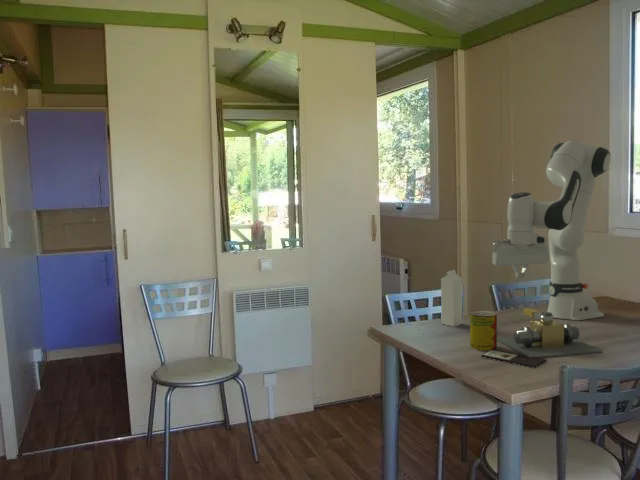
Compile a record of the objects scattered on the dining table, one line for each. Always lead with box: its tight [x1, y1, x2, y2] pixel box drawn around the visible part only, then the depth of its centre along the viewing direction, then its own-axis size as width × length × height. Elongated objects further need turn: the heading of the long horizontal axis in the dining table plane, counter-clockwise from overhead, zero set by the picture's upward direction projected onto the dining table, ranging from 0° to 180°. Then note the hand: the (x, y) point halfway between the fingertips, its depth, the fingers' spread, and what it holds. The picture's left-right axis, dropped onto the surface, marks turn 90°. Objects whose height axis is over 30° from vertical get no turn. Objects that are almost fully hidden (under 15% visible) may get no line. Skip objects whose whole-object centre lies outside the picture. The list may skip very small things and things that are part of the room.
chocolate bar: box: [480, 349, 547, 369], centre depth 188 cm, size 9×1×18 cm
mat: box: [497, 336, 603, 359], centre depth 201 cm, size 26×23×1 cm
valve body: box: [513, 319, 580, 348], centre depth 201 cm, size 22×8×8 cm, turn 100°
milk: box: [440, 269, 463, 327], centre depth 234 cm, size 6×6×22 cm
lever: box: [523, 307, 554, 323], centre depth 205 cm, size 15×4×3 cm, turn 10°
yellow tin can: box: [469, 309, 498, 351], centre depth 202 cm, size 9×9×12 cm
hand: (520, 277), depth 207 cm, fingers closed
